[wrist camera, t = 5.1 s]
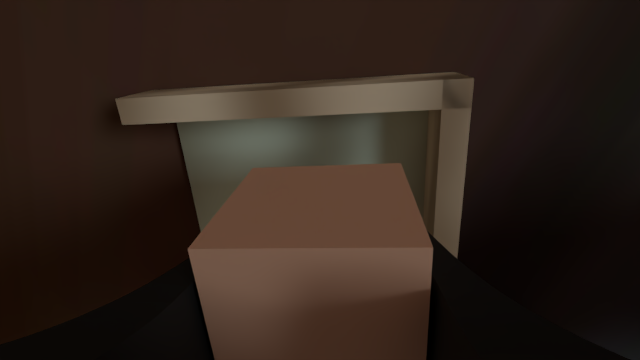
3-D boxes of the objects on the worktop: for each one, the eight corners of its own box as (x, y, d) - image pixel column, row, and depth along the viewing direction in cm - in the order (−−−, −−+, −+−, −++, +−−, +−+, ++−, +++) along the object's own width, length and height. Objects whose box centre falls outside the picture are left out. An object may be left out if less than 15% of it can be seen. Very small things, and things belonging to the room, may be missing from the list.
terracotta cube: (401, 163, 11) (433, 247, 7) (398, 287, 13) (422, 420, 8) (252, 167, 12) (187, 248, 7) (270, 286, 14) (227, 410, 9)
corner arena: (454, 71, 14) (474, 77, 12) (436, 322, 19) (447, 362, 16) (151, 90, 15) (115, 98, 13) (206, 318, 20) (187, 354, 18)
